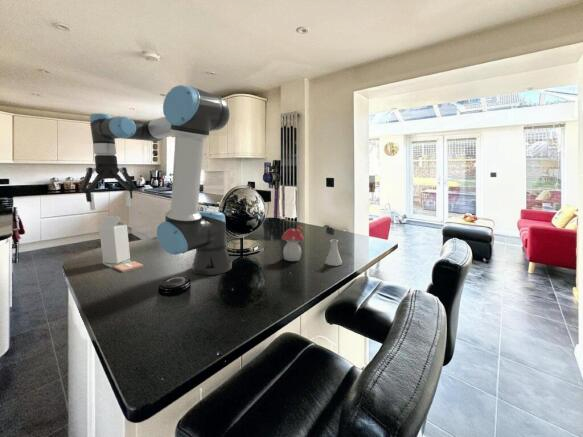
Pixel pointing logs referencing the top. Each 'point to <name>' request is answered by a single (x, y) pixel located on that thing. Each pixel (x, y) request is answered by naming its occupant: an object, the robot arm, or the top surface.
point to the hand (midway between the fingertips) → (111, 208)
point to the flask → (333, 255)
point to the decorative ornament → (292, 244)
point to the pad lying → (128, 266)
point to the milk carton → (114, 240)
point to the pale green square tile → (116, 264)
